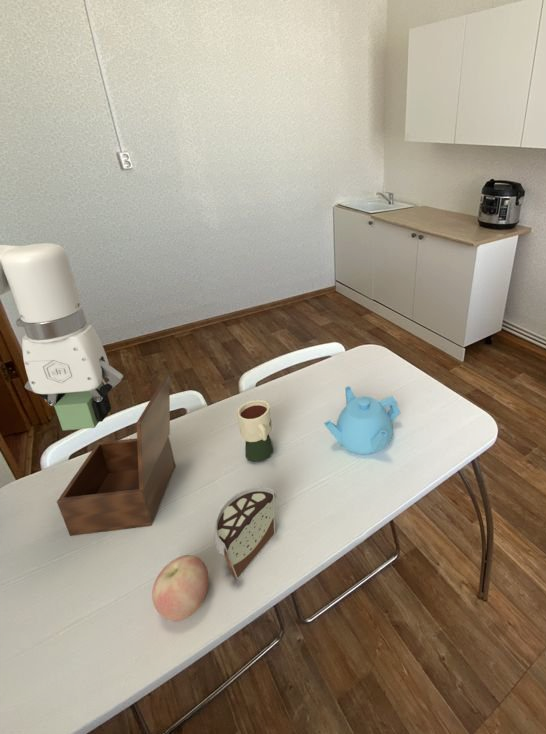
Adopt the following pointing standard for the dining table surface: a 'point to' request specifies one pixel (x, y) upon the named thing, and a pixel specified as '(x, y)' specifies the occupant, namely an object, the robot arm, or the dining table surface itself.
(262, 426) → the character mug
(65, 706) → the dining table surface
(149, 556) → the dining table surface
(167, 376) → the lid
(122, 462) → the chest
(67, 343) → the robot arm
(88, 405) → the block
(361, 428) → the teapot
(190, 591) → the apple
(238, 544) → the slice of cake
